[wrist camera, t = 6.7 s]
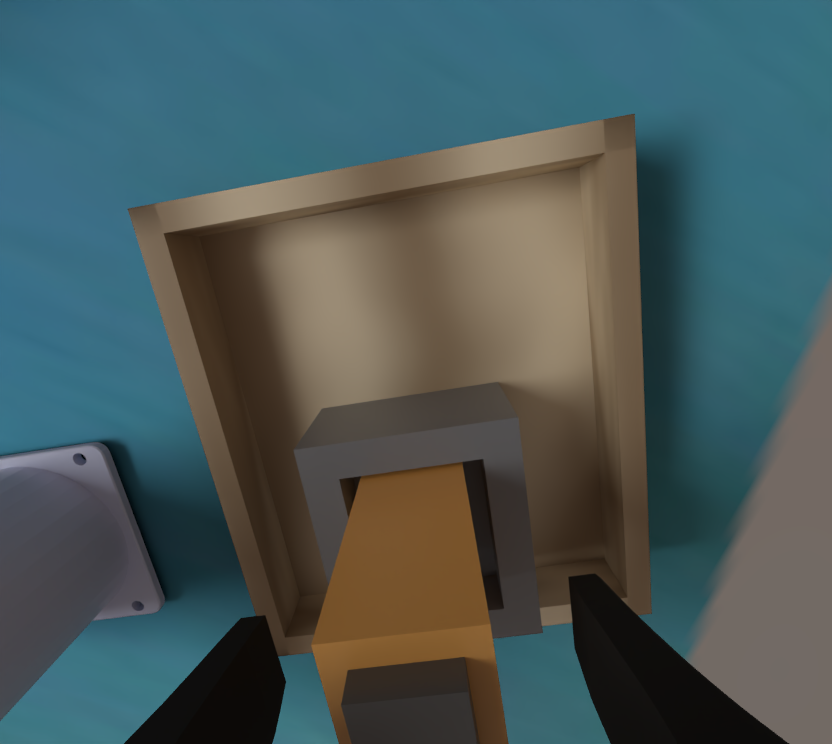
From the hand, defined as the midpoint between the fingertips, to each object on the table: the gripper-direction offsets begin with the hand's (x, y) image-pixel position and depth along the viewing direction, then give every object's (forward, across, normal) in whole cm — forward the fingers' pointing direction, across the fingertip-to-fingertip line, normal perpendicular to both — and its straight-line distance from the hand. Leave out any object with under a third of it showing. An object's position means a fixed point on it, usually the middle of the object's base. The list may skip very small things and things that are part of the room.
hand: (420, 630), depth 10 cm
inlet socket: (+6, 0, 0) cm, 7 cm away
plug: (+4, 0, 0) cm, 5 cm away
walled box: (+8, 0, -3) cm, 8 cm away
